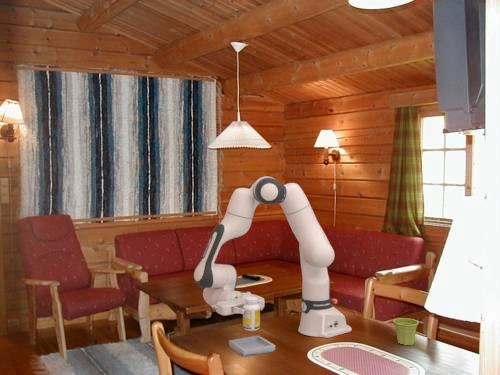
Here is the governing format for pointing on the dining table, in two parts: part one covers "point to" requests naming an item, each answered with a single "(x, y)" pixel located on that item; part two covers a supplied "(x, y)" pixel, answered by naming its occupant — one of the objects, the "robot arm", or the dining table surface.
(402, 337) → the plant pot
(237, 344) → the dish
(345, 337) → the dining table surface
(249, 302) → the pill bottle
